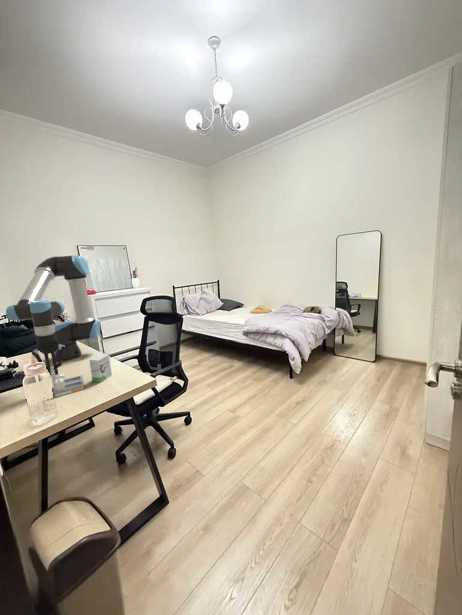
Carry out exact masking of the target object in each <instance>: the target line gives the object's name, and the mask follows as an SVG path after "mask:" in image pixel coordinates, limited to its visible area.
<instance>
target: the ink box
mask: <svg viewBox="0 0 462 615" xmlns="http://www.w3.org/2000/svg"><path fill="white" fill-rule="evenodd" d="M89 366H90V373H91V381H92V383H102V382H104V381H106V379H108V378H110V377H111V376H112V375H113V374H112V367H111V360H110V354H105V353H100V354H98V355H96V356H95V357H92V358H90V360H89Z"/></svg>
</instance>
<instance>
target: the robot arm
mask: <svg viewBox="0 0 462 615" xmlns="http://www.w3.org/2000/svg"><path fill="white" fill-rule="evenodd" d="M89 273H90V271H89V264H88V263H87V261H86V259H85V258H84V257H83V256H82V255H65V256H64V255H62V256H61V255H59V256H51V257H49V258H47V259H44V260H43V261H41V262H40V263H39V264H38V265H37V266H36V268H35V269H34V270H33V274H34V276H32V279H31V280H30V282H29V284H28V286H27V287H26V289H25V290H24V292H23V294H22V295H21V297H20V298H19V300H18V301H17V303H16V304H12V305H9V306H7V307H6V310H5V315H6V317H7V318H8V320H10V321H14V322H15V321H25V320H26V321H28V320H30V321H31V320H32V324H33V329H34V334H35V335H36V336H35V340H36V341H35V342H36V344H37V345H36V348H35V349H34V350H32V352H31V355H32V356H33V357H34V358H35V359H36V361H37V363H38V362H43V360H42V358H41V356H40V353H41V354H42V355H43V356H44V360H45V364H46V366H45V367H46V369H47V370H48V371H47V370H46V371H47V373H48V372H49V373H50V375H51V376H50V377H51V379H52V384H54V383H55V380H56V375H58V374H59V369H58V368H60V367H62V362H66V361H70V360H74V359H76V358H79V357H81V355H82V350H81V348H80V347H79V345H78V344H77V341H78V342H79V341H85V340H95V339H97V338H98V337H99V336H100V330H101V323H100V321H99V320H96V317H94V316H93V315H92V311H91V310H92V309H91V305H90V302H89V295H88V292H87V286H86V281H85V280H86V278H87V275H88V274H89ZM57 277H63V279H64V280H65V281H66V282H68V287H69V291H70V295H71V299H72V304H73V307H74V312H75V317H76V319H75V320H74V321H73V320H67V321H62V322H58V323H56V324H55V323H54V318H57V317H59V316H61V315H62V314H63V313H65V305H64V304H63V303H62V302H60V301H56V300H55V301H49V300H48V299H44V300H41V299H42V297H43V295H44V293H45V292H46V290H47V288H48V286H49V284H50V282H51V281H54V280H55V278H57ZM39 352H40V353H39ZM49 354H50V355H51V360H52V366H53V367H52V368H51V362H50V357H49ZM57 362H58V363H57ZM43 363H44V362H43Z"/></svg>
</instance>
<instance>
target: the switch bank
mask: <svg viewBox="0 0 462 615" xmlns="http://www.w3.org/2000/svg"><path fill="white" fill-rule="evenodd" d="M64 380H65V384H64V385H65V389H64V390H60V391H57V389H56V384H55V383H53V390H52V391H53V392H52V393H53V398H54V397H55V398H57V397H58V398H59V397H61V396H65V395H67V394H72V393H75V392H79V391H83V390H85V389H86V386H85V381H84V378H83V375H78V376H73V377H69V378H66V379H65V378H64Z"/></svg>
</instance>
